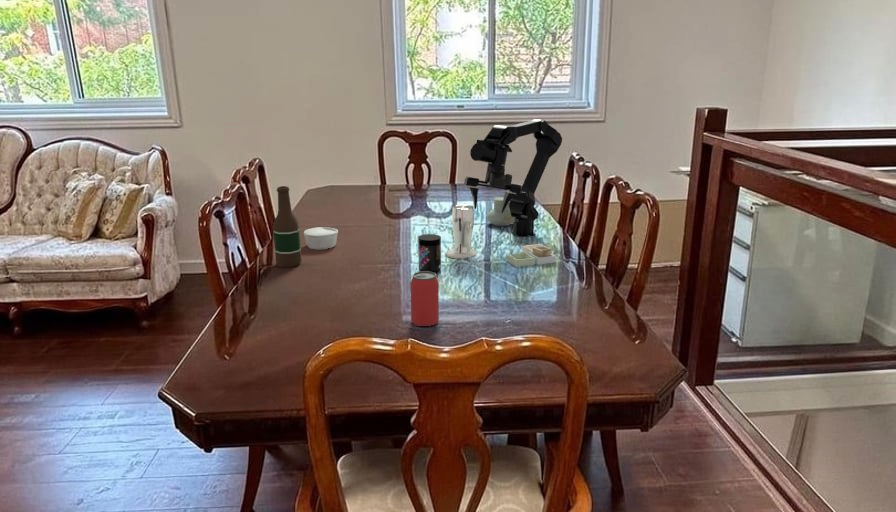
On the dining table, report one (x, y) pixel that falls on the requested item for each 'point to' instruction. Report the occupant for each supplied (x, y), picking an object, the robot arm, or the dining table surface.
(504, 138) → the robot arm
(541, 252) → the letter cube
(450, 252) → the stone coaster
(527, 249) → the cream dish
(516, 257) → the sage dish
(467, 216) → the beer glass
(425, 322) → the beer can
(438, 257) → the supplement container
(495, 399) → the dining table surface
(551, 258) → the pale blue dish
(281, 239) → the beer bottle
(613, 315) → the dining table surface
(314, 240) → the ramekin
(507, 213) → the air freshener
